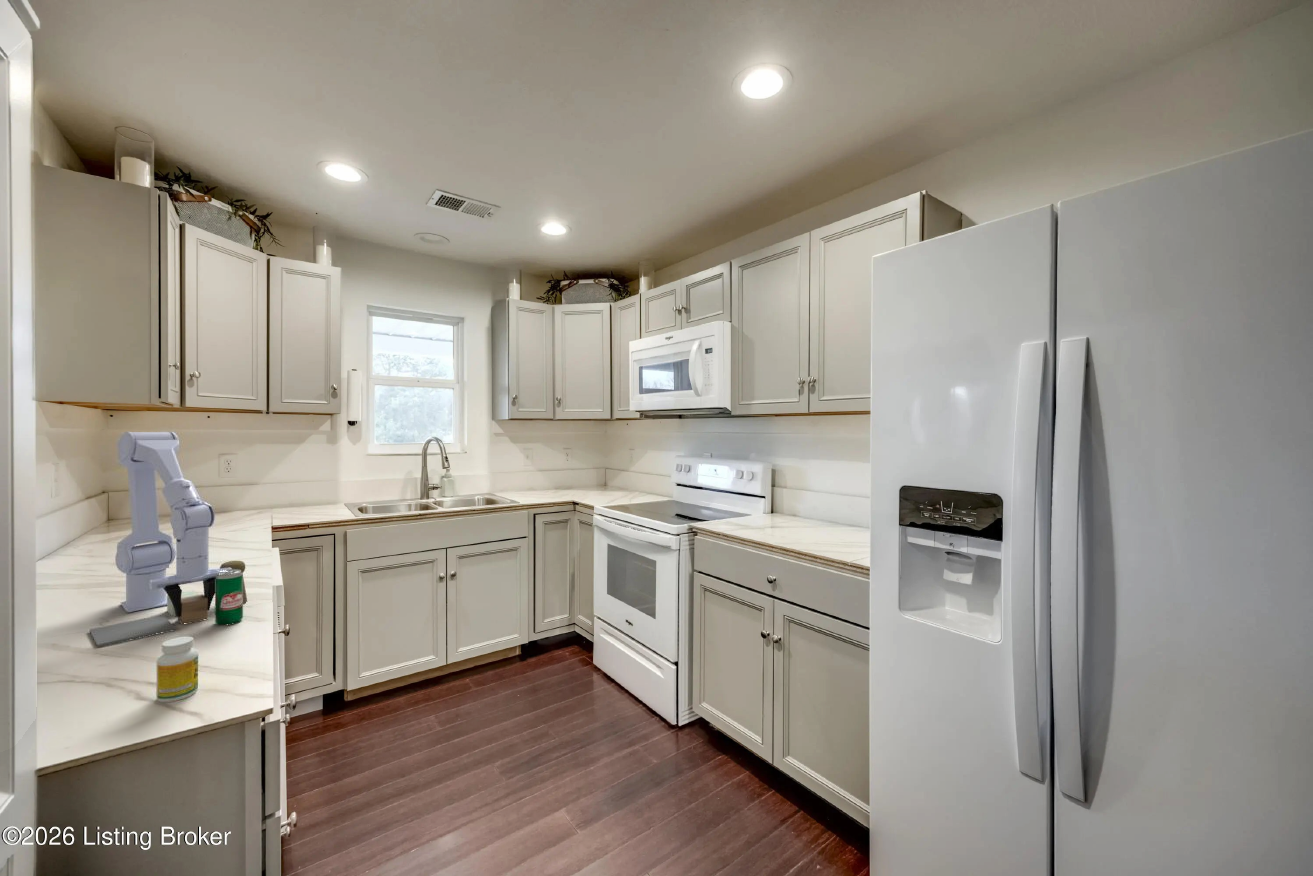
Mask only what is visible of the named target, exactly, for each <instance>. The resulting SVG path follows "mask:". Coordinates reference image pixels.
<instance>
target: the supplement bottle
mask: <svg viewBox="0 0 1313 876" xmlns="http://www.w3.org/2000/svg"><path fill="white" fill-rule="evenodd" d="M193 646H194V638H193V637H192V636H179V637H175V638H171V639H168V640H166V641H164V642H162V645H161V652H162V654H161V655H159V657H157V660H156V691H155V692H156V693H155V694H156V699H157V701H158V702H160V703H173V702H178V701H181V700H184V699H187V698H189V697H191V696H193V695H194V694H195V693H196V692H197V691H198V689H199V652H198V650H197V649H196V648H194V647H193ZM192 694H193V695H192Z"/></svg>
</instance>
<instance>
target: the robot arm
mask: <svg viewBox="0 0 1313 876" xmlns="http://www.w3.org/2000/svg"><path fill="white" fill-rule="evenodd" d="M116 446H117V456H118V463H119V464H118V465H120V466H122V467H124V468H125V467H126V469H127V478H128V479H127V480H128V492H129V493H128V494H129V506H130V509H129V510H130V522H131V524H130V525H131V533H130V534H128V535H127V536H125V537H124V538H122V539H121V540H120V541H119V542H118V543H117V544H116V553H115V560H114V561H115V565H116V568H117V570H118V571H119V572H120V573H123V574H125V591H126V592H125V600H123V601H120V605H121V606H122V608H123V609H124V611H125V612H126V613H131V612H133V613H134V612H136V611H143V610H147V609H153V608H157V607H163V606H167V595H168V596H169V598H170V600H171V602H172V604H173V607H174V610H175V615H174V616H176V618H178V617H180V616H181V594H182V593H183V590H182V588H181V586H180V585H182V586H183V585H186V584H193V583H197V582H202V583H203V595H204V596H205V597H206V598H208V611H210V610H211V606H212V605H211V604H212V601H213V599H214V598H215V597H214V596H215V578H216V576H217V575H218V574H217V573H218V572H221V571H224V570H231V568H230V567H229V568H222V569H220V568H214V569H213V568H212V569H210V568H209V567H210V566H209V556H210V555H209V553H210V551H209V546H210V545H209V543H210V542H209V539H210V538H209V537H210V536H209V535H210V533H209V531H210V530H209V529H210V528H211V527H212V526H213V524H214V522H215V517H216V516H215V511H214V508H213V506H212V505H211V503H207V502H206V500H202V499H201V496H200V494H199V492H198V491H197V489H196V487H195V484H194V483H193V482H192V481H191V480H188V479H185V478H184V475H183V471H182V469H181V466H180V463H179V461H178V458H177V455H178V454H179V450H180V449H179V448H180V440H179V436H178V435H177V433H175V432H174V431H171V430H170V431H149V432H148V431H140V432H139V431H134V432H132V431H124V432H123V433H122V434H120V436H119V439H118V441H117V445H116ZM156 473H157V474H158V476H159V477H160V479H161V481H162V482H163V484H164V486H163V488H162V490H161V493H162V494H163V497H164V498H165V501H166V503H167V505H168V507H169V509H170V511H171V514H170V518H169V521H170V525H171V528H172V535H173V536H171V535H170V534H169V533H166V532H163V531H162V530H160V525H159V522H160V521H159V508H158V507H159V506H158V496H157V495H158V494H157V493H158V491H157V480H156ZM173 538H174V539H176V540H175V541H176V546H175V545H174V542H173ZM175 560H176V562H175V563H176V565H175V566H176V570H175V571H176V573H175V574H173V575H169V576H167V574H166V573H167V569H169V568H170V565H172V563H174V561H175Z"/></svg>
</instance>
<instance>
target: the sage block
mask: <svg viewBox="0 0 1313 876" xmlns="http://www.w3.org/2000/svg"><path fill="white" fill-rule="evenodd" d="M196 595H200V594H199V593H198V592H196V591H195V590H190V591H189V590H188V591H182V594H181V598H185V597H191V596H196ZM166 598H167V605H166V606H167V607H166V609H167V610H166V611H167V613H169V614H170V615H171V616H172V615H174V616H176V615H175V610H174V607H173V604H172V602H171V600H170V598H169V596H168V595H167V594H166Z"/></svg>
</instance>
